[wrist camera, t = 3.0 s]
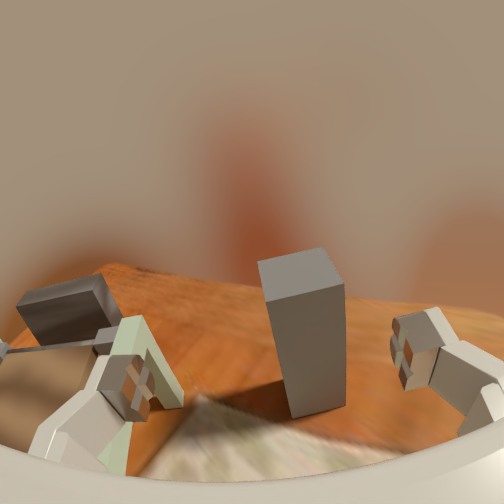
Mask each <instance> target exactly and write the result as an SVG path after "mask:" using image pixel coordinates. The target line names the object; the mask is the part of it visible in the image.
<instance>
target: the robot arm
mask: <svg viewBox="0 0 504 504" xmlns="http://www.w3.org/2000/svg"><path fill="white" fill-rule="evenodd" d="M392 329H393V331H394V334H393V335H392V336H391V339H390V350H391V356H392V359H393V362H394V365H395V366H397V367H399V368H400V370H399V378H400V381H401V384H402V386H403V389H404V392H405V391H409V390H413V389H417V388H421V387H424V386H428V385H429V387H430V388H431V389H432V390H434V391H435V392H436V393H437V394H439V395H440V396H441V397H442V398H443V399H445V400H446V401H447V402H448V403H450V404H451V405H452V406H453V407H455V408H456V409H457V410H458V411H460V412H461V413H462V414H463V415H465V416H466V418H465V419H464V421H463V423H462V424H461V426H460V428H459V429H458V431H457V435H458V438H455V439H452V440H450V441H447V442H444V443H442V444H439V445H436V446H433V447H430V448H427V449H424V450H421V451H418V452H415V453H411V454H408V455H405V456H401V457H398V458H394V459H390V460H386V461H383V462H379V463H374V464H370V465H366V466H361V467H357V468H352V469H347V470H342V471H336V472H330V473H324V474H318V475H311V476H303V477H295V478H286V479H276V480H263V481H244V482H191V481H172V480H159V479H149V478H140V477H132V476H124V475H118V474H111V473H106V470H107V468H106V466H105V465H104V464H103V463H102V462H100V461H99V460H98V459H97V457H98V456H99V455H100V454H101V452H102V451H103V450H104V449H105V448H106V446H107V445H108V444H109V443H110V442H111V440H112V439H113V438H114V437H115V436H116V434H117V433H118V432H119V431H120V430H121V428H122V427H123V426H124V425H125V424H126V422H147V419H148V415H149V411H150V407H151V406H150V404H149V402H148V401H149V400H150V399H151V398H152V397H153V395H154V391H155V381H154V378H153V375H152V373H151V372H150V370H148V369H147V368H145V367H144V366H143V365H144V360H143V359H142V357H141V356H140V355H137V354H133V355H101V356H100V357H98V358H97V361H96V363H95V365H94V367H93V370H92V372H91V374H90V376H89V379H88V381H87V383H86V386H85V388H84V390H80V391H79V392H78V393H76V394H75V395H74V396H73V397H72V398H71V399H69V400H68V401H67V402H66V403H65V404H64V405H62V406H61V407H60V408H59V409H58V410H57V411H55V412H54V413H53V414H52V415H51V416H50V417H49V418H47V419H46V420H45V421H44V422H43V423H42V424H40V425H39V426H38V429H37V431H36V433H35V436H34V438H33V441H32V443H31V446H30V448H29V451H28V453H24V452H21V451H18V450H15V449H12V448H9V447H7V446H4V445H1V444H0V504H504V362H503V361H501V360H500V359H498V358H496V357H494V356H492V355H490V354H489V353H487V352H485V351H483V350H481V349H479V348H477V347H476V346H474V345H472V344H470V343H468V342H466V341H464V340H462V341H459V339H458V337H457V336H456V334H455V332H454V331H453V329H452V328H451V326H450V324H449V323H448V321H447V320H446V318H445V316H444V315H443V313H442V312H441V310H440V309H439V308H438V307H434V308H430V309H427V310H423V311H419V312H415V313H411V314H407V315H403V316H399V317H395V318H394V319H393V321H392Z"/></svg>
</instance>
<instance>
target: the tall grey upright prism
mask: <svg viewBox="0 0 504 504" xmlns="http://www.w3.org/2000/svg"><path fill="white" fill-rule="evenodd" d="M257 263H258V268H259V272H260V277H261V282H262V287H263V291H264V296H265V301H266V305H267V310H268V314H269V319H270V323H271V327H272V332H273V336H274V341H275V345H276V349H277V354H278V358H279V363H280V367H281V371H282V376H283V380H284V385H285V389H286V394H287V398H288V402H289V407H290V411H291V416H292V419H294V418H299V417H303V416H307V415H311V414H316V413H320V412H323V411H327V410H331V409H335V408H338V407H342V406H345V405H346V317H345V291H344V282H343V281H342V279H341V277H340V276H339V274H338V272H337V271H336V269H335V267H334V266H333V264H332V262H331V260H330V258H329V257H328V255H327V253H326V252H325V250H324V248H323V247H319V248H315V249H311V250H306V251H302V252H298V253H293V254H289V255H284V256H280V257H275V258H271V259H266V260H262V261H258V262H257Z"/></svg>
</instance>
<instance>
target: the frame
mask: <svg viewBox="0 0 504 504" xmlns="http://www.w3.org/2000/svg"><path fill="white" fill-rule="evenodd" d="M93 346H94V347H95V349H96V350H97V352H98V353H99V355H100V356H101V355H133V354H137V355H140V356H141V357H142V359H143V360H144V365H143V366H144V367H145V368H147V369H148V370H150V372H151V373H152V375H153V378H154V381H155V391H154V394H155V395H156V397H157V398H158V400H159V401H160V403H161V404H162V405H163V407H164V408H165V409H172V408H181V407H183V402H184V391H183V390H182V388H181V386H180V385H179V383H178V381H177V379H176V378H175V376H174V374H173V372H172V371H171V369H170V367H169V365H168V364H167V362H166V360H165V358H164V356H163V354H162V353H161V351H160V349H159V347H158V345H157V343H156V341H155V339H154V338H153V336H152V334H151V332H150V330H149V328H148V326H147V324H146V322H145V320H144V318H143V316H142V315H138V316H132V317H127V318H122V319H121V322H120V325H119V326H115V327H109V328H103V329H99V330H98V333H97V335H96V338H95V341H94V343H93ZM10 349H11V347H10V346H9V345H8V343H7V342H4V343H3V342H2V340H1V339H0V365H1V363H2V361H3V359H4V358H5V356H6V352H7V350H10ZM132 424H133V422H126V424H125V425H124V426H123V427H122V428H121V430H120V431H119V432H118V433H117V434H116V436H115V437H114V438H113V439H112V440H111V442H110V443H109V444H108V445H107V446H106V448H105V449H104V450H103V451H102V452H101V454H100V455H99V456H98V457H97V459H98V460H99V461H100V462H102V463H103V464H104V465H105V466H106V468H107V470H106V473H111V474H118V475H124V476H125V472H126V464H127V457H128V450H129V443H130V437H131V430H132Z"/></svg>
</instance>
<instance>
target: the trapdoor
mask: <svg viewBox="0 0 504 504" xmlns="http://www.w3.org/2000/svg"><path fill="white" fill-rule="evenodd" d="M16 308H17V310H18V311H19V313H20V315H21V316H22V318H23V320H24V321H25V323H26V324H27V326H28V327H29V329H30V330H31V332H32V333H33V335H34V336H35V338H36V339H37V341H38V342H39V344H40V345H41V346H38V347H29V348H20V349H10V350H7V352H6V356H5V358H4V359H3V361H2V363H1V365H0V444H1V445H4V446H7V447H9V448H12V449H15V450H18V451H21V452H24V453H28V451H29V448H30V446H31V443H32V441H33V438H34V436H35V433H36V431H37V429H38V426H39V425H40V424H42V423H43V422H44V421H45V420H46V419H47V418H49V417H50V416H51V415H52V414H53V413H54V412H55V411H57V410H58V409H59V408H60V407H61V406H62V405H64V404H65V403H66V402H67V401H68V400H69V399H71V398H72V397H73V396H74V395H75V394H76V393H78V392H79V391H80V390H84V388H85V386H86V383H87V381H88V379H89V376H90V374H91V372H92V370H93V367H94V365H95V363H96V360H97V357H98V354H99V353H98V352H97V350H96V349H95V347H94V346H93V343H94V341H95V338H96V335H97V333H98V330H99V329H103V328H109V327H115V326H119V325H120V322H121V319H122V318H124V317H123V315H122V314H121V312H120V310H119V308H118V306H117V304H116V302H115V300H114V298H113V296H112V294H111V292H110V290H109V288H108V286H107V284H106V282H105V280H104V277H103V275H102V273H100V274H96V275H91V276H87V277H83V278H79V279H75V280H71V281H67V282H63V283H59V284H54V285H51V286H46V287H42V288H38V289H34V290H30V291H27V292H26V293H25V294H24V296H23V297H22V298H21V300H20V301H19V303H18V304H17V306H16Z"/></svg>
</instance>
